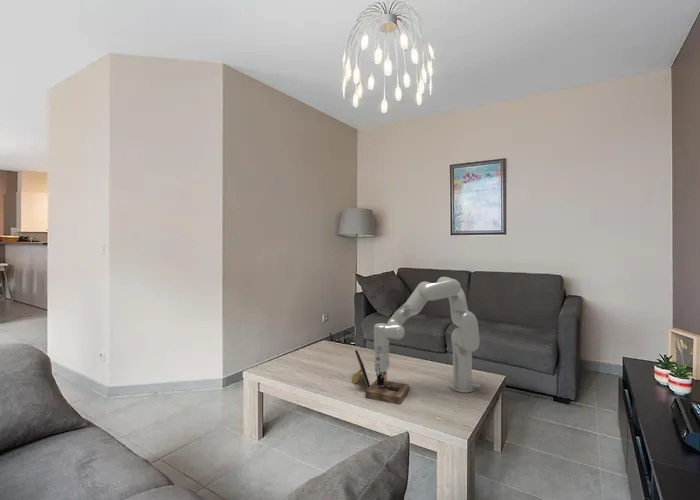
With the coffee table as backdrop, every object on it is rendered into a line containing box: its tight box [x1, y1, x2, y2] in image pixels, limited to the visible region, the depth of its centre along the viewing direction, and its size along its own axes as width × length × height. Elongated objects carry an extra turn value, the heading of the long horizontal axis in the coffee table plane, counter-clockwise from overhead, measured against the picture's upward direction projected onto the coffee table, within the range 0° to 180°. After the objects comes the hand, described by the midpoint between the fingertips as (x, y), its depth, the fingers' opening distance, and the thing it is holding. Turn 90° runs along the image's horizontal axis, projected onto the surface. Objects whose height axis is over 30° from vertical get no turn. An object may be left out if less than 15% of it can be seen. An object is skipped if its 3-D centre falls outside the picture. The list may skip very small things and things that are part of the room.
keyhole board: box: [364, 378, 410, 405], centre depth 179 cm, size 18×16×4 cm
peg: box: [380, 372, 388, 388], centre depth 180 cm, size 4×4×10 cm
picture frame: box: [351, 349, 371, 389], centre depth 194 cm, size 23×9×15 cm, turn 7°
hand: (382, 383), depth 180 cm, fingers closed on peg, 4 cm apart
